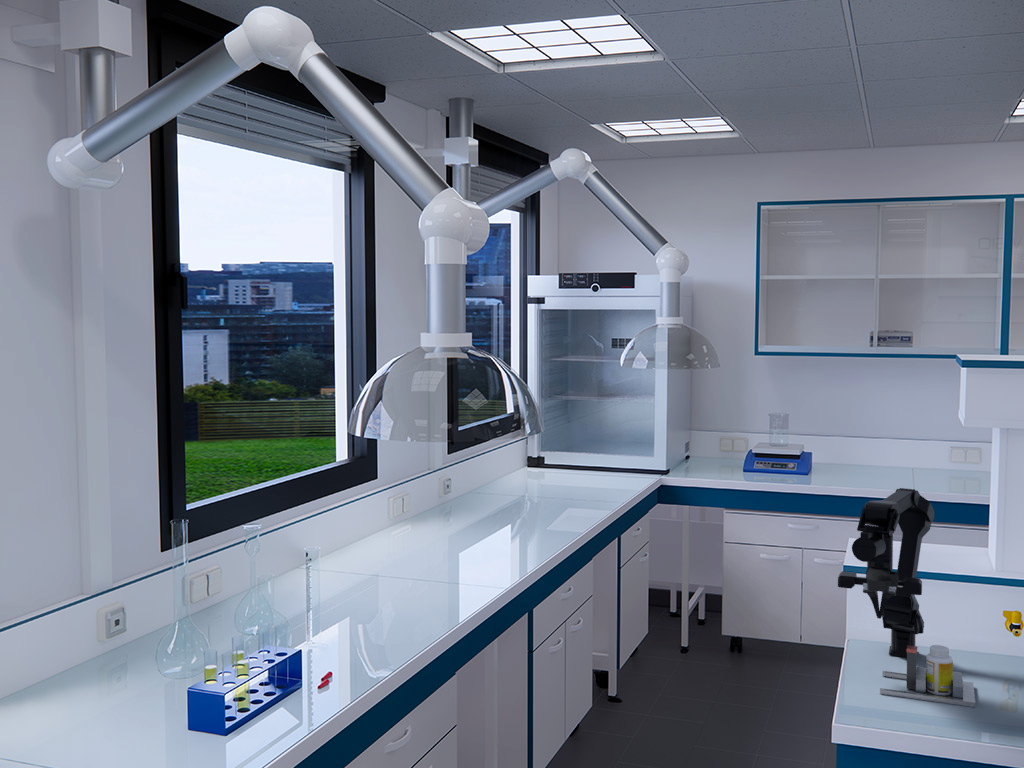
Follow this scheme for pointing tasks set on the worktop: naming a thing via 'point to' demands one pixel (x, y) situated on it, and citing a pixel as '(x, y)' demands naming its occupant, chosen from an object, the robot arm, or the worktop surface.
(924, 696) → the frame
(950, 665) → the supplement bottle
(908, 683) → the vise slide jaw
